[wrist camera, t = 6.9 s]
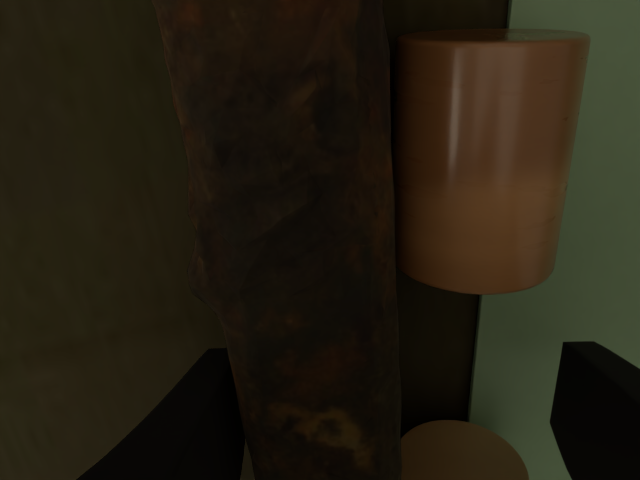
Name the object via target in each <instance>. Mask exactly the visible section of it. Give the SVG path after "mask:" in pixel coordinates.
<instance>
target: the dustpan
mask: <svg viewBox="0 0 640 480" xmlns="http://www.w3.org/2000/svg"><path fill="white" fill-rule="evenodd" d="M506 29H551V30H568V31H577V32H582V33H585V34H588V35H589V36H590V39H591V43H590V49H589V55H588V61H587V68H586V74H585V80H584V86H583V92H582V99H581V105H580V111H579V117H578V124H577V130H576V136H575V142H574V149H573V155H572V161H571V167H570V173H569V180H568V186H567V192H566V198H565V205H564V211H563V217H562V223H561V229H560V236H559V242H558V248H557V254H556V261H555V267H554V270H553V272H552V273H551V275H550V276H549V277H548V278H547V279H546V280H545V281H544V282H542V283H541V284H539V285H537V286H535V287H533V288H530V289H527V290H523V291H519V292H514V293H508V294H496V295H479V305H478V315H477V325H476V335H475V345H474V355H473V365H472V375H471V385H470V395H469V405H468V415H467V422H469V423H473V424H476V425H479V426H481V427H484V428H486V429H488V430H490V431H492V432H494V433H496V434H497V435H499V436H500V437H502V438H503V439H504V440H506V441H507V442H508V443H509V444H510V445H511V446H512V447H513V448H514V449H515V450H516V451H517V452H518V454H519V455H520V457H521V458H522V460H523V462H524V464H525V466H526V468H527V471H528V474H529V480H572V479H571V477H570V475H569V473H568V471H567V469H566V466H565V464H564V461H563V459H562V456H561V453H560V451H559V448H558V445H557V442H556V440H555V437H554V434H553V431H552V428H551V425H550V416H551V410H552V404H553V399H554V393H555V387H556V381H557V375H558V369H559V363H560V357H561V351H562V345H563V342H574V341H595V342H596V343H598V344H600V345H602V346H604V347H605V348H607V349H609V350H611V351H612V352H614V353H616V354H617V355H619V356H620V357H622V358H624V359H625V360H627V361H628V362H630V363H631V364H633V365H635V366H636V367H638V368H639V369H640V0H509V4H508V14H507V24H506Z"/></svg>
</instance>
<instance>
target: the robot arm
mask: <svg viewBox="0 0 640 480" xmlns="http://www.w3.org/2000/svg"><path fill="white" fill-rule="evenodd" d="M550 425H551V428H552V431H553V434H554V437H555V440H556V442H557V445H558V448H559V451H560V453H561V456H562V459H563V461H564V464H565V466H566V469H567V471H568V473H569V475H570V477H571V479H572V480H640V369H639V368H638V367H636V366H635V365H633V364H631V363H630V362H628V361H627V360H625V359H624V358H622V357H620V356H619V355H617V354H616V353H614V352H612V351H611V350H609V349H607V348H605V347H604V346H602V345H600V344H598V343H596V342H595V341H574V342H563V345H562V351H561V357H560V363H559V369H558V375H557V381H556V387H555V393H554V399H553V404H552V410H551V416H550ZM244 446H245V435H244V430H243V425H242V421H241V416H240V411H239V405H238V399H237V394H236V388H235V383H234V379H233V374H232V370H231V365H230V361H229V356H228V350H227V348H213V349H208V350H207V351H206V352H205V353H204V354H203V355H202V356H201V357H200V358H199V359H198V360H197V362H196V363H195V364H194V365H193V366H192V367H191V368H190V370H189V371H188V372H187V373H186V374H185V375H184V376H183V378H182V379H181V380H180V381H179V382H178V383H177V384H176V386H175V387H174V388H173V389H172V390H171V391H170V392H169V393H168V394H167V395H166V396H165V397H164V399H163V400H162V401H161V402H160V403H159V404H158V405H157V406H156V407H155V408H154V409H153V410H152V411H151V412H150V413H149V414H148V416H147V417H146V418H145V419H144V420H143V421H142V422H141V423H139V424H138V425H137V426H136V427H135V428H134V429H133V430H132V431H131V432H130V433H129V434H128V435H127V436H126V437H125V438H124V439H123V440H122V441H121V442H120V443H119V444H118V445H117V446H116V447H114V448H113V449H112V450H111V451H110V452H109V453H108V454H107V455H106V456H104V457H103V458H102V459H101V460H100V461H99V462H97V463H96V464H95V465H94V466H93V467H91V468H90V469H89V470H88V471H86V472H85V473H84V474H83V475H81V476H80V477H79V478H78V479H76V480H240V476H241V470H242V462H243V454H244Z"/></svg>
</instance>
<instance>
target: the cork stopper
mask: <svg viewBox="0 0 640 480" xmlns="http://www.w3.org/2000/svg"><path fill="white" fill-rule="evenodd" d="M590 43H591V39H590V36H589V35H588V34H585V33H582V32H577V31H568V30H551V29H459V30H438V31H424V32H414V33H408V34H404V35H401V36H399V37H398V38H397V40H396V42H395V80H394V118H393V156H392V173H393V183H394V194H395V259H396V266H397V268H398V269H399V270H401V271H402V272H403V273H404V274H406V275H407V276H409V277H410V278H412V279H414V280H416V281H418V282H421V283H423V284H426V285H429V286H432V287H435V288H439V289H443V290H447V291H452V292H458V293H466V294H478V295H496V294H508V293H514V292H519V291H523V290H527V289H530V288H533V287H535V286H537V285H539V284H541V283H542V282H544V281H545V280H546V279H547V278H548V277H549V276H550V275H551V273H552V272H553V270H554V267H555V261H556V254H557V248H558V242H559V236H560V229H561V223H562V217H563V211H564V205H565V198H566V192H567V186H568V180H569V173H570V167H571V161H572V155H573V149H574V142H575V136H576V130H577V124H578V117H579V111H580V105H581V99H582V92H583V86H584V80H585V74H586V68H587V61H588V55H589V49H590Z"/></svg>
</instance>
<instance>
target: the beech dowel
mask: <svg viewBox="0 0 640 480" xmlns="http://www.w3.org/2000/svg"><path fill="white" fill-rule="evenodd" d="M401 456H402V474H401V480H529V474H528V471H527V468H526V466H525V464H524V462H523V460H522V458H521V457H520V455H519V454H518V452H517V451H516V450H515V449H514V448H513V447H512V446H511V445H510V444H509V443H508V442H507V441H506V440H504V439H503V438H502V437H500V436H499V435H497V434H496V433H494V432H492V431H490V430H488V429H486V428H484V427H481V426H479V425H476V424H473V423H469V422H464V421H458V420H436V421H431V422H427V423H423V424H421V425H418V426H416V427H414V428H413V429H411V430H410V431H408V432H407V433H406V434H405V435H404V436H403V437H402V438H401Z"/></svg>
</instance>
